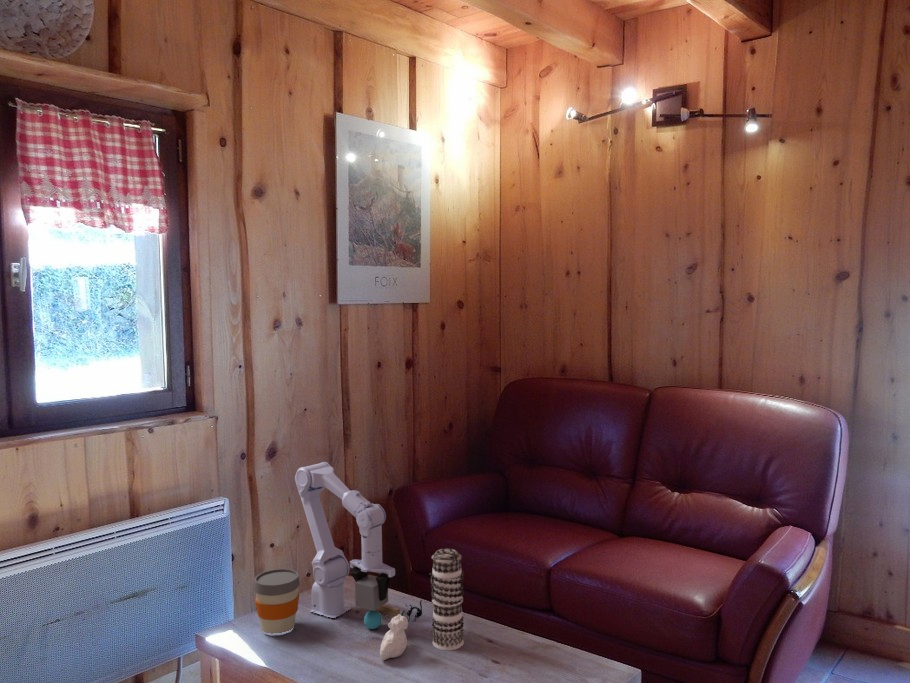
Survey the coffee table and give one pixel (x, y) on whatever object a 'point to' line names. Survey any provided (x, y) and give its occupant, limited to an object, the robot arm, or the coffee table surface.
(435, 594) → the decorative candle
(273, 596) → the reusable coffee cup
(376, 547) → the robot arm
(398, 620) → the bust
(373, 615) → the ball
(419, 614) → the creature
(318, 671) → the coffee table surface
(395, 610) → the stopper bar
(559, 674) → the coffee table surface
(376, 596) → the grey matte cube
